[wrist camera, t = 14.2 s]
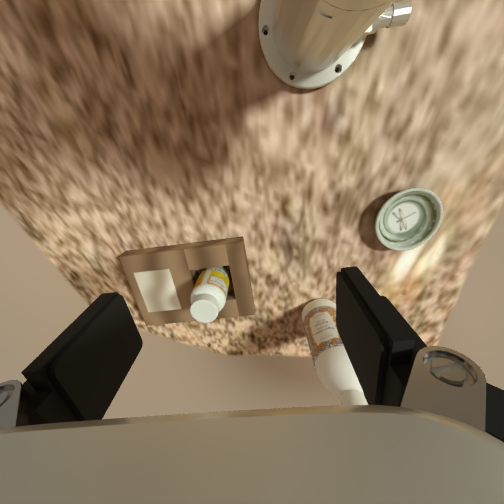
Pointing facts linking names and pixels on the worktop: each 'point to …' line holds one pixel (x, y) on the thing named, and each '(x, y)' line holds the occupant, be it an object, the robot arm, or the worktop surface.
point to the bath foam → (330, 352)
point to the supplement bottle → (209, 294)
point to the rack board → (185, 278)
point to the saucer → (408, 219)
